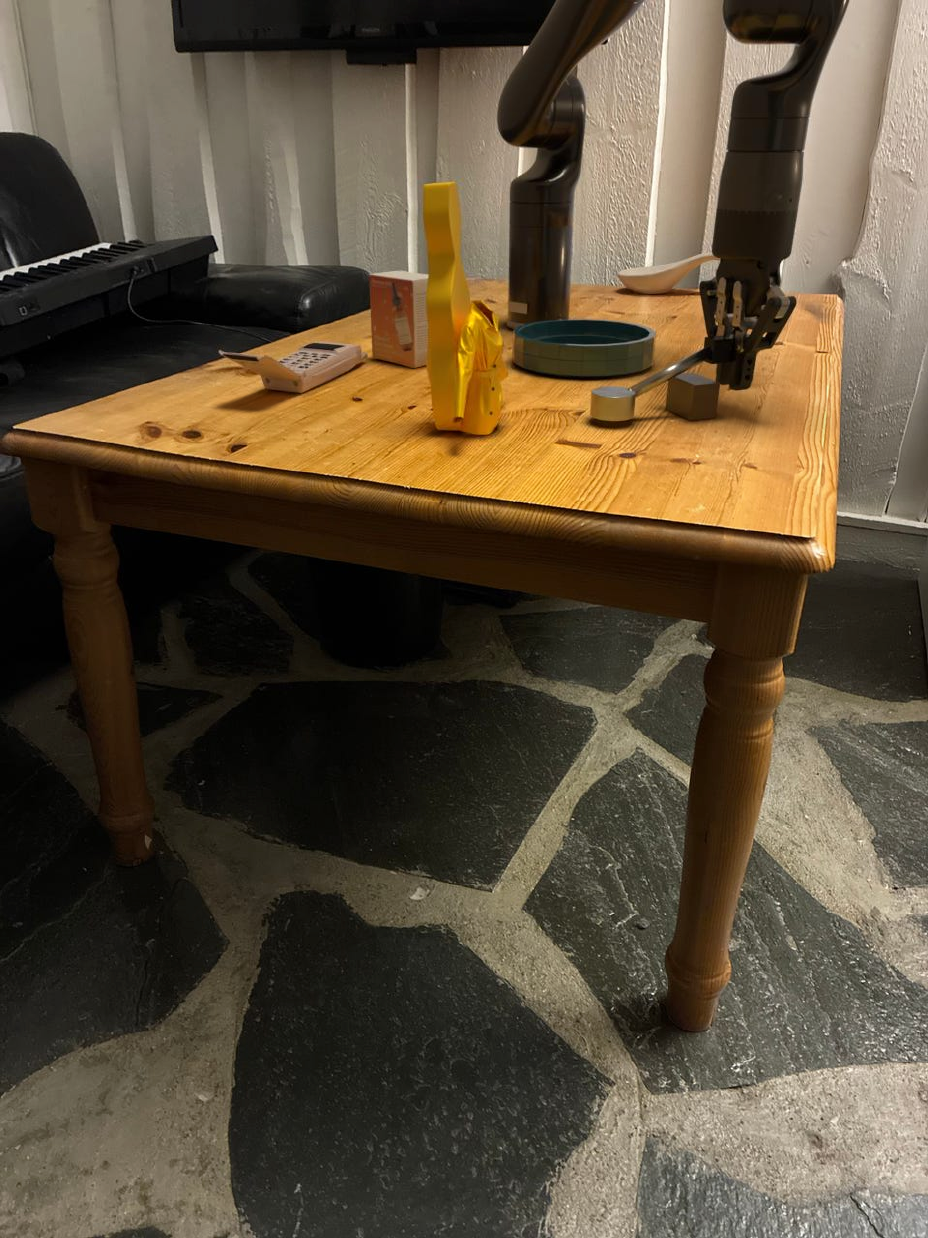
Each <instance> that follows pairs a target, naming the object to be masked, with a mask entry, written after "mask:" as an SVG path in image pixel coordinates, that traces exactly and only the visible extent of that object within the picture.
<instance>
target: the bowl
mask: <svg viewBox="0 0 928 1238" xmlns="http://www.w3.org/2000/svg"><path fill="white" fill-rule="evenodd" d="M656 341H657V331H655V330H654V329H653V328H651V327H648V326H646V325H642V324H638V323H634V322H627V321H620V320H612V319H611V320H610V319H599V318H598V319H597V318H569V319H559V320H546V321H539V322H532V323H528V324H524V325H521V326H518V327H517V328H515V329H512V355H511V356H512V357H511V358H512V361H513V364H515V365H517V366H519V367H521V368H522V369H525V370H529V371H532V372H535V373H538V374H543V375H547V376H554V377H562V378H575V379H598V378H599V379H600V378H613V377H620V376H625V375H630V374H634V373H636V372H641V371H644V370H647V369H648V368H651V367H652V366H653V364H654V362H655V352H656Z"/></svg>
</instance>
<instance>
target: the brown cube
mask: <svg viewBox="0 0 928 1238" xmlns="http://www.w3.org/2000/svg"><path fill="white" fill-rule="evenodd" d="M666 388H667V389H666V396H665V397H666V398H665V408H664V409H665V410H667V411H669V412H671V413H673V414H676V415H678V416H680V417H682V418H684V419H685V420H688V421H690V422H694V421H703V420H710V419H716V418H717V413H718V404H719V398H720V389H721V385H720V383H719V382H716V380H715V379H711V378H709V377H706V376H704V375H701V374H698V373H697V372H683V373H681V374H680V375H678V376H676V377H674V378H672V379H670V380H668V381H667V387H666Z"/></svg>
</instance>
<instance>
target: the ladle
mask: <svg viewBox="0 0 928 1238" xmlns="http://www.w3.org/2000/svg"><path fill="white" fill-rule="evenodd" d="M750 334H751V333H747V337H746V340H747V339H748V337H749V335H750ZM735 336H736V334H732V335H721V336H711V337H708V336H705V337H704V341H703V347H702V348H701V349H699V350H697V351H695V352H694V353H692V354H690V355H688V356H686V357H683V359H681V360H678V361H677V362H675V363H673V364H671V365H669V366H667V367H665V368H664V369H661V370H659V371H658V372H656V373H654V374H652V375H651V376H650V375H649V376H648V377H646V378H644V379H643V380H641V381H639V382H637V383H636V384H634V385H631V386H630V387H626V386H618V385H607V386H606V385H605V386H599V387H595V388H593V389H591V390H590V391H591V392H590V405H589V406H590V408H589V415H590V417H591V418H593V419H595V420H599V421H604V422H624V421H628V420H631V419H633V418H634V417H635V410H636V409H635V408H636V398H638V397H640V396H642V395H644V394H646V393H648V392H649V391H651V390H653V389H655V388H657V387H659V386H661V385H663V384H665V383H666V382H668V380H670V379H672V378H674V377H676V376H678V375H680V374H682V373H686V372H687V371H689V370H691V369H692V368H695V367H696V366H698V365H700V364H702V363H707V364H710V365H717V364H720V363H730V362H732V361H733V353H736V352H735V349H734V346H735Z"/></svg>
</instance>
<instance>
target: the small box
mask: <svg viewBox="0 0 928 1238" xmlns="http://www.w3.org/2000/svg"><path fill="white" fill-rule="evenodd" d="M428 276H429V273H418V272H412V271H411V272H410V271H405V270H401V269H400V270H392V271H391V270H390V271H385V272H375V273H369V300H370V302H369V303H370V329H371V331H370V333H371V354H372V356H371V357H372V359H377V360H382V361H386V362H388V363H389V362H390V363H392V364H393V363H394V364H397V365H401V366H405V367H408V368H411V369H417V368H420V367H424V366H425V367H426V358H427V343H428V322H427V315H426V292H427V284H428Z"/></svg>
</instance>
